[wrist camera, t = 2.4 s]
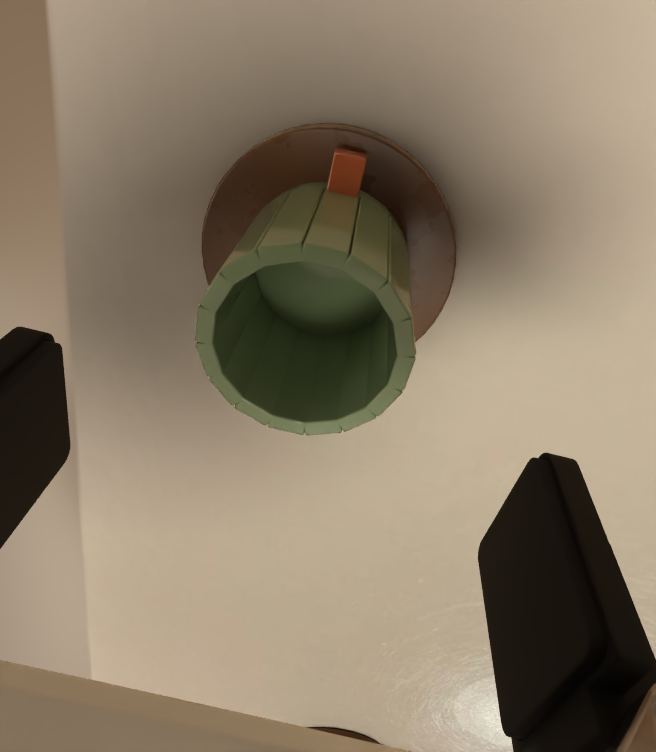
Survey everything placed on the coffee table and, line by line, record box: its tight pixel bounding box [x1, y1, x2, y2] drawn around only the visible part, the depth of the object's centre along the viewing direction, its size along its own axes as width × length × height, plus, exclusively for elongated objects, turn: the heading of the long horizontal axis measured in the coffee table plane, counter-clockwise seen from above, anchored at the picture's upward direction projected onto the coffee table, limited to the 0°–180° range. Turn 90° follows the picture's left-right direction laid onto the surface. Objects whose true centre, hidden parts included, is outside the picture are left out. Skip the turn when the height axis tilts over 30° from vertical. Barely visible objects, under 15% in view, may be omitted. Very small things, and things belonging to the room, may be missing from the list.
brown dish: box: [202, 124, 456, 342], centre depth 19 cm, size 9×9×1 cm
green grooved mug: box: [195, 148, 416, 435], centre depth 16 cm, size 6×7×6 cm
